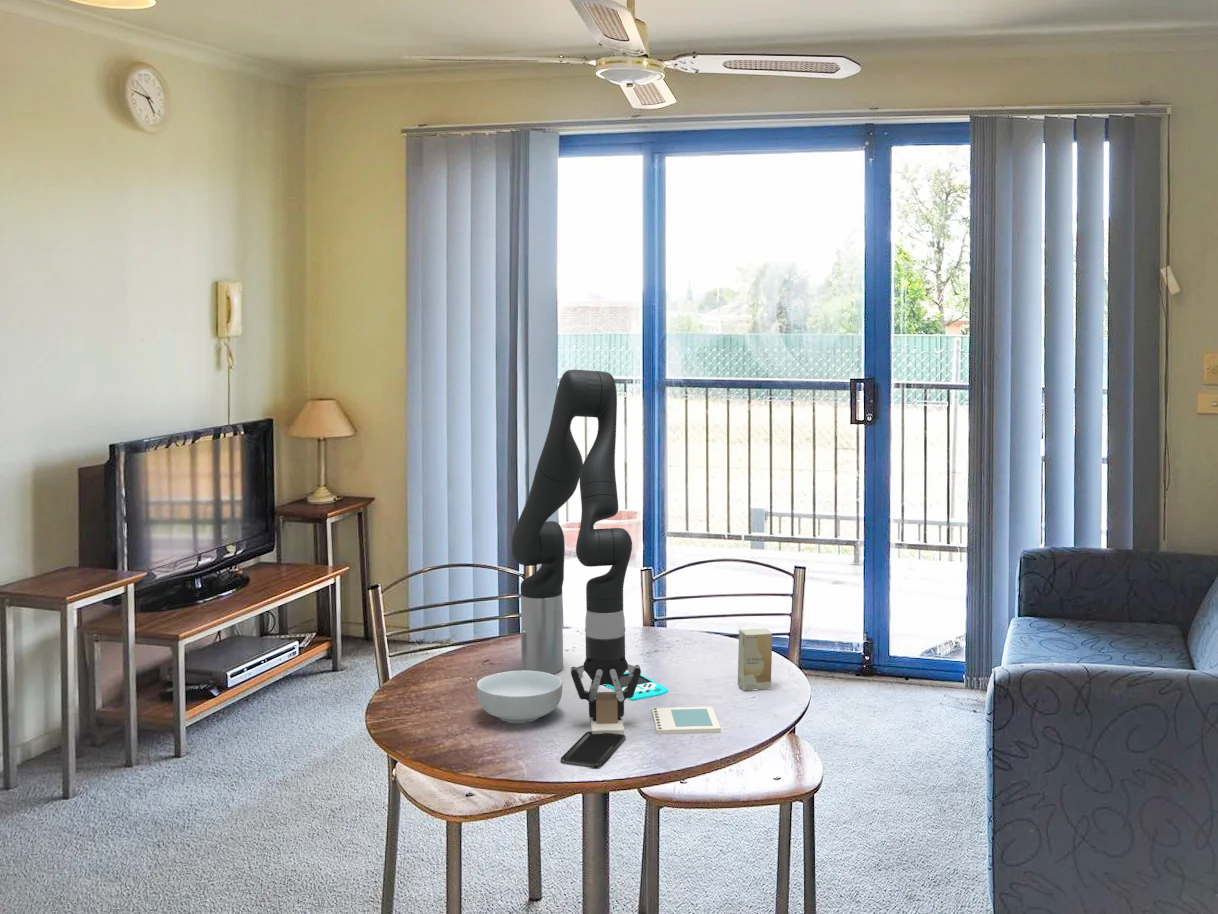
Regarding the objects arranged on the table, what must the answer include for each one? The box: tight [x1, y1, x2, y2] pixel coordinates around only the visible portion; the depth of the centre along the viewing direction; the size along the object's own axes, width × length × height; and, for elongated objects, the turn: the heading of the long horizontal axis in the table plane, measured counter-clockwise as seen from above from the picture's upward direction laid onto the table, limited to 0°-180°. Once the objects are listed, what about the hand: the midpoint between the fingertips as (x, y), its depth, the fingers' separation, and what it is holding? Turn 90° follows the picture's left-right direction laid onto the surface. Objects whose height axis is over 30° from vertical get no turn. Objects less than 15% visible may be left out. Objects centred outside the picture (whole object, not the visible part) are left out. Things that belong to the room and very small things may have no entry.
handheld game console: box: [605, 671, 669, 702], centre depth 237 cm, size 10×16×1 cm, turn 29°
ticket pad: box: [651, 706, 722, 735], centre depth 215 cm, size 12×12×1 cm
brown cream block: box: [590, 691, 625, 735], centre depth 214 cm, size 6×12×6 cm, turn 2°
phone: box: [560, 730, 627, 770], centre depth 202 cm, size 8×1×15 cm
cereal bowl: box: [476, 670, 563, 724], centre depth 219 cm, size 17×17×7 cm
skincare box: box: [737, 627, 773, 691], centre depth 235 cm, size 6×4×12 cm
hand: (606, 718), depth 215 cm, fingers closed on brown cream block, 4 cm apart
